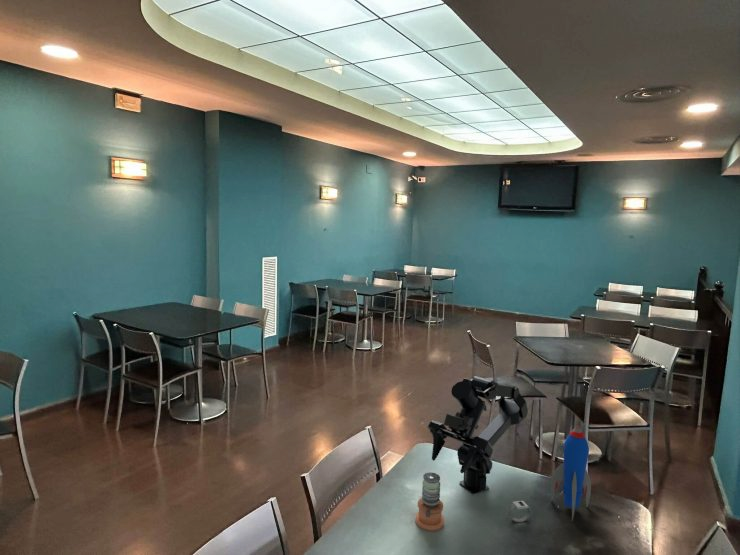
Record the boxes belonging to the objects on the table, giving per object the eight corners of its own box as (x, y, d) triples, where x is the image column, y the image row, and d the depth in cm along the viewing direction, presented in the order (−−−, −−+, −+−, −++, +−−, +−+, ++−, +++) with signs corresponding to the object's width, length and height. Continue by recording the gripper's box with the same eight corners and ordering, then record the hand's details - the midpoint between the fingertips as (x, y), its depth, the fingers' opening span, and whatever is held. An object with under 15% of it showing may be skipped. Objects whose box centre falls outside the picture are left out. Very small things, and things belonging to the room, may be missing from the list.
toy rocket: (589, 506, 130) (596, 422, 127) (596, 527, 121) (604, 438, 118) (548, 499, 133) (555, 417, 130) (552, 519, 123) (559, 432, 121)
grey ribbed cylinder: (428, 496, 124) (429, 470, 123) (442, 503, 121) (444, 476, 120) (418, 503, 120) (419, 476, 120) (432, 511, 117) (434, 484, 116)
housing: (426, 509, 126) (427, 491, 126) (449, 521, 121) (450, 503, 121) (409, 521, 121) (410, 503, 120) (433, 535, 116) (434, 516, 115)
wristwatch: (511, 525, 121) (512, 507, 120) (506, 518, 123) (507, 501, 123) (532, 523, 122) (533, 505, 121) (526, 516, 124) (528, 499, 124)
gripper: (432, 393, 133) (407, 441, 126) (490, 412, 121) (466, 467, 114) (445, 411, 140) (423, 458, 133) (502, 431, 127) (480, 484, 121)
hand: (446, 466), depth 125 cm, fingers open, 9 cm apart
